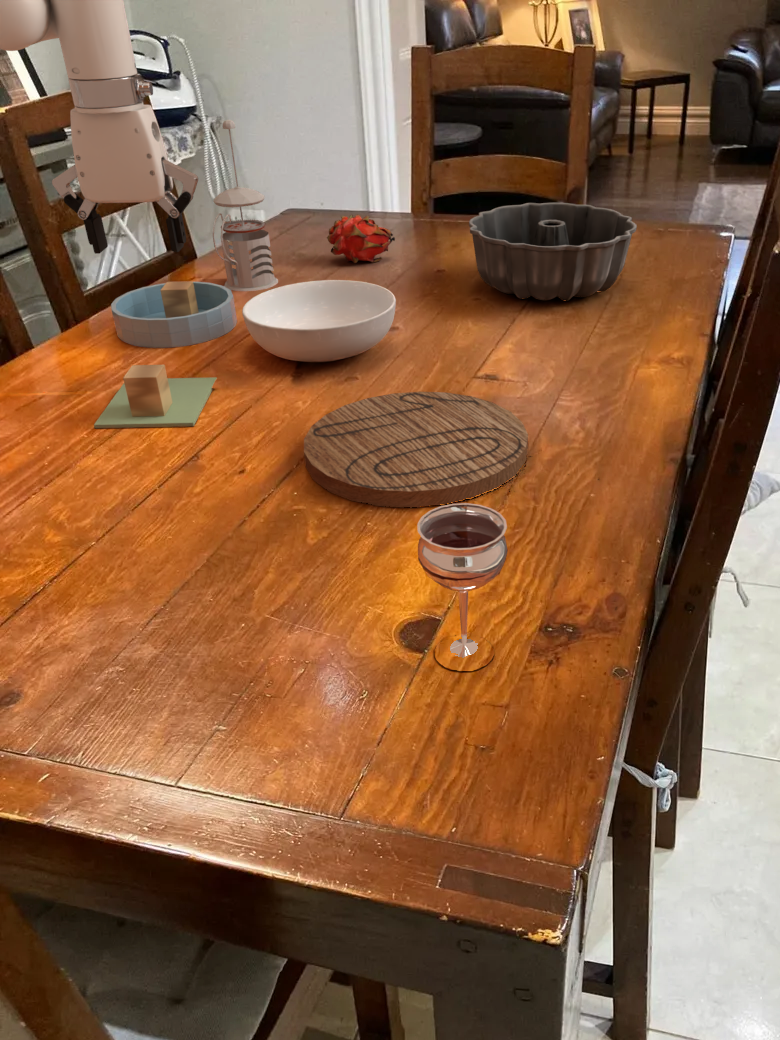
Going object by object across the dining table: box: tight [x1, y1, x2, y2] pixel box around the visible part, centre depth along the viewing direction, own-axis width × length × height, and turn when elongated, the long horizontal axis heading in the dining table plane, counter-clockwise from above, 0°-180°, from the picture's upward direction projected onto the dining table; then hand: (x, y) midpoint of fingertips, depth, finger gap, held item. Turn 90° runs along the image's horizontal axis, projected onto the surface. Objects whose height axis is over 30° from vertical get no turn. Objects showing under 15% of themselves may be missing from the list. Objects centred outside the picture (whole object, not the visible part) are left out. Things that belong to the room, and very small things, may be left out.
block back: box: [160, 280, 199, 318], centre depth 141 cm, size 4×4×5 cm
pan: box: [110, 281, 238, 349], centre depth 138 cm, size 17×17×4 cm
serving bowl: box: [241, 279, 397, 363], centre depth 129 cm, size 21×21×7 cm
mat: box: [93, 376, 218, 429], centre depth 118 cm, size 12×14×1 cm
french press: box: [212, 119, 279, 292], centre depth 149 cm, size 10×12×25 cm
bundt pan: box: [468, 202, 638, 302], centre depth 150 cm, size 26×26×10 cm
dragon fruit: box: [326, 214, 396, 264], centre depth 165 cm, size 8×8×12 cm
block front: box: [122, 364, 173, 417], centre depth 114 cm, size 4×4×5 cm
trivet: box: [303, 391, 529, 509], centre depth 105 cm, size 25×25×2 cm
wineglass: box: [416, 502, 508, 658], centre depth 72 cm, size 7×7×12 cm
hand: (139, 249), depth 116 cm, fingers open, 9 cm apart
